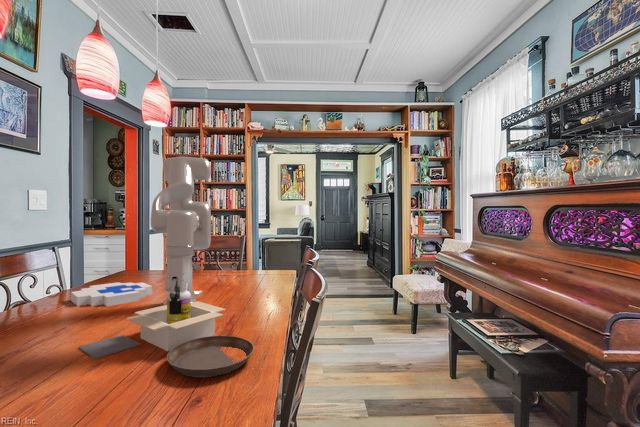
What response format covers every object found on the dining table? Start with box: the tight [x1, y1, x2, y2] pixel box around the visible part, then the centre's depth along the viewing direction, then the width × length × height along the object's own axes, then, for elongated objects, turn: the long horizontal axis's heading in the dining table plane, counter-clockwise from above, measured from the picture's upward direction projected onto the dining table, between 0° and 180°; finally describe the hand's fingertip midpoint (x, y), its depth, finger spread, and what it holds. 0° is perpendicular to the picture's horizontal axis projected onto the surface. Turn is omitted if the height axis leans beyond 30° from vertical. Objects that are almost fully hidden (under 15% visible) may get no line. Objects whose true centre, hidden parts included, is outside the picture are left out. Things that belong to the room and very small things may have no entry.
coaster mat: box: [78, 334, 141, 360], centre depth 88 cm, size 11×11×1 cm
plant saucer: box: [166, 335, 255, 378], centre depth 80 cm, size 21×21×3 cm
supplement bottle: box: [166, 283, 191, 324], centre depth 97 cm, size 7×7×13 cm
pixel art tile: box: [70, 281, 153, 307], centre depth 141 cm, size 28×4×28 cm
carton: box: [126, 300, 227, 352], centre depth 96 cm, size 23×23×7 cm
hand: (178, 309), depth 97 cm, fingers closed on supplement bottle, 6 cm apart
